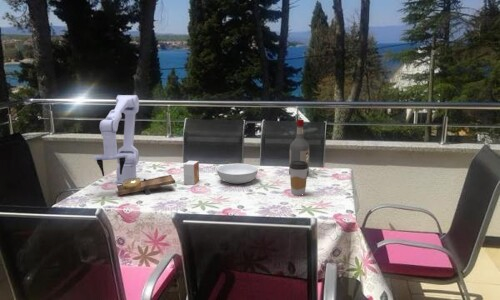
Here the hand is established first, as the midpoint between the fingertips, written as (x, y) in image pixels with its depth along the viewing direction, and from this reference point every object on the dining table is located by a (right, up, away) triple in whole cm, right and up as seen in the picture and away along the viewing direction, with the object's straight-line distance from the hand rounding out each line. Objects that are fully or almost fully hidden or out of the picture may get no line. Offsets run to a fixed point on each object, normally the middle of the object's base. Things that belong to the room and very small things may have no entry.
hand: (112, 174), depth 198 cm
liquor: (+90, -2, +34) cm, 96 cm away
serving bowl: (+57, -5, +23) cm, 62 cm away
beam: (+14, -5, +6) cm, 16 cm away
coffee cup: (+86, -9, +3) cm, 86 cm away
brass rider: (+8, -6, +4) cm, 11 cm away
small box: (+34, -5, +21) cm, 40 cm away
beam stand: (+14, -8, +7) cm, 18 cm away
